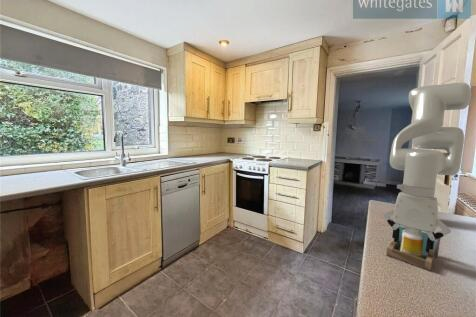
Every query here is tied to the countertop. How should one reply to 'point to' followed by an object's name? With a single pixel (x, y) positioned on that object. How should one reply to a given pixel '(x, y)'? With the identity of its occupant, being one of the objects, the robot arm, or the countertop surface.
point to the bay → (411, 256)
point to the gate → (425, 235)
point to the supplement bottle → (411, 241)
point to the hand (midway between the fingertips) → (411, 245)
